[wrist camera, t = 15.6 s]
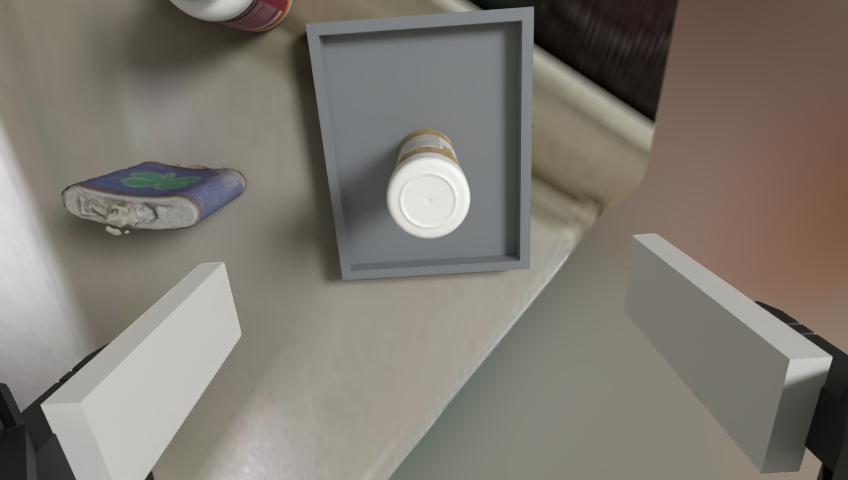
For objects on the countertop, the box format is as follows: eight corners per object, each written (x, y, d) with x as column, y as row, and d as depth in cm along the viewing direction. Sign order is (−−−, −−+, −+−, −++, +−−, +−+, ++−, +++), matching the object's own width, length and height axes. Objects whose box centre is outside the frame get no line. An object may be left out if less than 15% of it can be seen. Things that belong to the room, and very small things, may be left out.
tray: (347, 268, 41) (342, 280, 39) (313, 26, 34) (305, 23, 32) (523, 257, 41) (529, 268, 39) (526, 10, 34) (533, 6, 32)
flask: (247, 168, 38) (184, 205, 28) (248, 202, 39) (188, 249, 29) (135, 157, 38) (31, 190, 28) (140, 191, 39) (40, 235, 29)
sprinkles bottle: (456, 180, 37) (473, 237, 25) (401, 185, 38) (391, 245, 25) (452, 123, 36) (468, 154, 23) (395, 129, 36) (380, 162, 23)
